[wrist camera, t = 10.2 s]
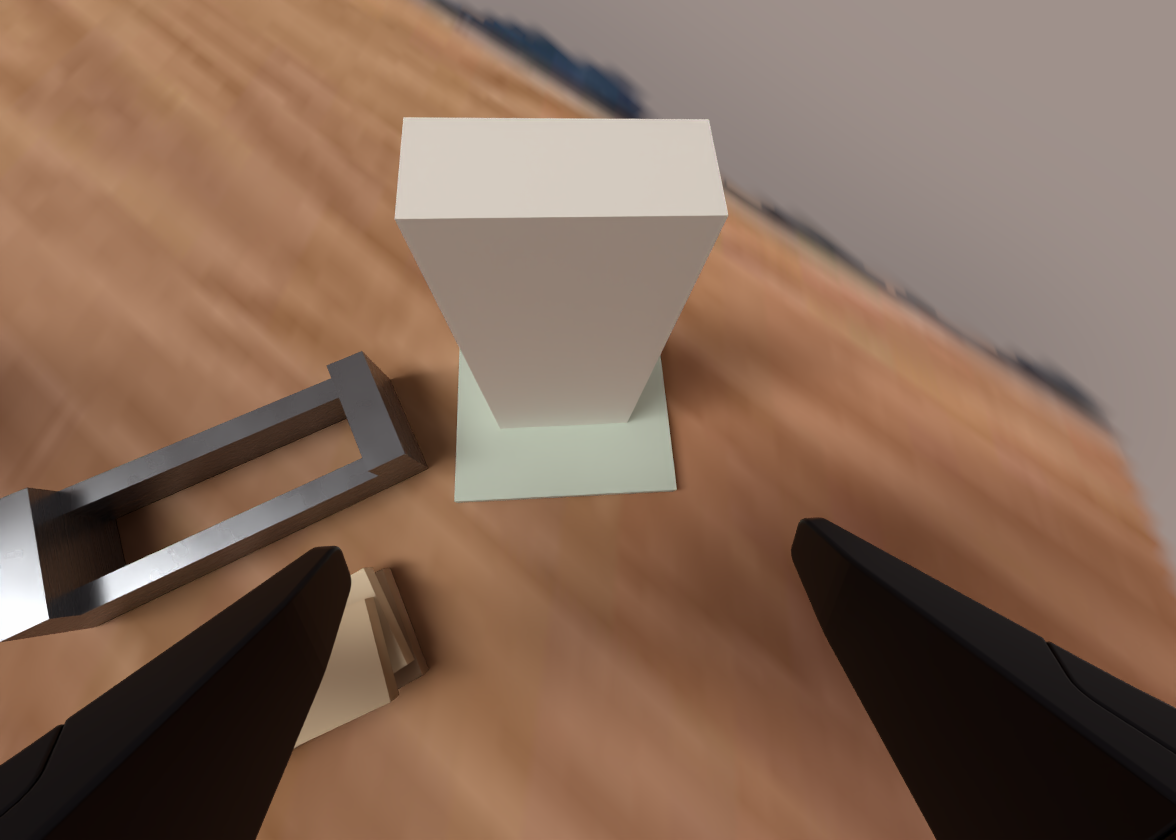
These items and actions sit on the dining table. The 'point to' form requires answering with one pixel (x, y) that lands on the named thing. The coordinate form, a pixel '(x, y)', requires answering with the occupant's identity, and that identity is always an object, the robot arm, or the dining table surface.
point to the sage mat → (561, 451)
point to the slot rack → (88, 509)
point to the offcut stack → (366, 655)
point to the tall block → (560, 251)
